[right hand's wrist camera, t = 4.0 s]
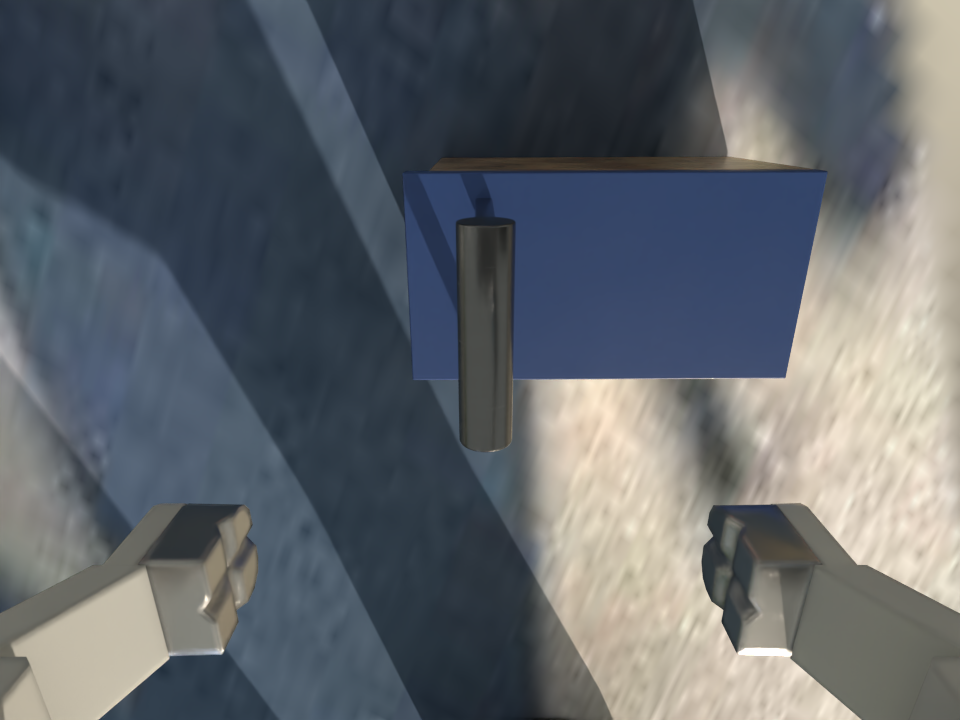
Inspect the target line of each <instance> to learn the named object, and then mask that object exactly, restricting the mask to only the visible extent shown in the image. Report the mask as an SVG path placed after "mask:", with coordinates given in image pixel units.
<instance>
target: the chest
mask: <svg viewBox="0 0 960 720" xmlns="http://www.w3.org/2000/svg"><path fill="white" fill-rule="evenodd" d="M777 169H809V168H802V167H796V166H789V165H782V164H775V163H769V162H762V161H755V160H748V159H741V158H734V157H528V158H441V159H440V160H439V161H438V162H437V163H436V164H435V165H434V166H433V167H432V168H431V169H430V170H429V171H518V170H777Z"/></svg>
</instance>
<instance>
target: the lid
mask: <svg viewBox="0 0 960 720" xmlns="http://www.w3.org/2000/svg"><path fill="white" fill-rule="evenodd" d="M402 175H403V195H404V215H405V235H406V255H407V275H408V295H409V315H410V335H411V355H412V375H413V380H459V434H460V442H461V443H462V445H463V446H465V447H466V448H468V449H470V450H473V451H478V452H494V451H498V450H501V449H504V448H505V447H507V446H508V445H509V444H510V443H511V440H512V402H513V379H751V378H785V377H786V372H787V367H788V362H789V357H790V353H791V348H792V343H793V338H794V333H795V328H796V323H797V319H798V314H799V309H800V304H801V299H802V294H803V289H804V284H805V280H806V275H807V270H808V265H809V260H810V255H811V250H812V246H813V241H814V236H815V231H816V226H817V221H818V216H819V212H820V207H821V202H822V197H823V192H824V187H825V182H826V178H827V171H823V170H816V169H777V170H518V171H405V172H404V173H403V174H402Z"/></svg>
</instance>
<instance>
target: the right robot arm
mask: <svg viewBox="0 0 960 720" xmlns="http://www.w3.org/2000/svg"><path fill="white" fill-rule="evenodd" d="M252 525H253V524H252V519H251V515H250V510H249V508H247V507H246V506H245V505H234V504H185V503H161V504H158V505H155V506H153V507H152V508H151V509H150V510H149V512H148V513H147V514H146V515H145V516H144V517H143V519H142V520H141V521H140V522H139V523H138V524H137V526H136V527H135V528H134V529H133V530H132V531H131V533H130V534H129V535H128V536H127V537H126V538H125V540H124V541H123V542H122V543H121V544H120V545H119V547H118V548H117V549H116V550H115V551H114V552H113V554H112V555H111V556H110V557H109V558H108V559H107V561H106V562H105V563H104V564H103V565H93V566H91V567H89V568H87V569H85V570H83V571H81V572H79V573H77V574H75V575H73V576H71V577H69V578H68V579H66V580H64V581H62V582H60V583H58V584H56V585H54V586H52V587H50V588H48V589H46V590H44V591H42V592H41V593H39V594H37V595H35V596H33V597H31V598H29V599H27V600H25V601H23V602H21V603H19V604H17V605H15V606H14V607H12V608H10V609H8V610H6V611H4V612H2V613H0V720H99V719H100V718H101V717H102V716H103V715H104V714H106V713H107V712H108V711H109V710H110V709H111V708H113V707H114V706H115V705H116V704H117V703H118V702H120V701H121V700H122V699H123V698H124V697H125V696H127V695H128V694H129V693H130V692H131V691H132V690H134V689H135V688H136V687H137V686H138V685H139V684H141V683H142V682H143V681H144V680H145V679H146V678H148V677H149V676H150V675H151V674H152V673H153V672H155V671H156V670H157V669H158V668H159V667H160V666H162V665H163V664H164V663H165V662H166V661H167V660H169V656H181V655H215V654H223V653H224V650H225V648H226V646H227V644H228V642H229V640H230V638H231V636H232V634H233V632H234V630H235V628H236V626H237V624H238V616H237V611H236V610H237V609H238V608H240V607H241V606H243V605H244V604H245V603H247V602H248V601H249V599H250V597H251V595H252V592H253V590H254V588H255V583H256V578H257V574H258V553H257V547H256V545H255V544H254V543H253V542H252V541H251V540H250V539H249V538H248V537H247V534H248V533H249V531H250V529H251V527H252ZM707 525H708V527H709V529H710V531H711V533H712V534H713V537H712V538H711V539H710V540H709V541H708V542H707V543H706V544H705V545H704V547H703V555H702V573H703V580H704V583H705V587H706V590H707V592H708V595H709V597H710V599H711V601H712V602H713V603H715V604H716V605H717V606H719V607H720V608H722V609H723V610H724V611H723V616H722V624H723V626H724V628H725V630H726V632H727V634H728V636H729V638H730V640H731V642H732V644H733V646H734V648H735V650H736V652H737V654H743V655H779V656H791V659H792V660H793V661H794V662H795V663H796V664H798V665H799V666H800V667H801V668H802V669H803V670H805V671H806V672H807V673H808V674H809V675H810V676H812V677H813V678H814V679H815V680H816V681H817V682H819V683H820V684H821V685H822V686H823V687H824V688H825V689H827V690H828V691H829V692H830V693H831V694H832V695H834V696H835V697H836V698H837V699H838V700H839V701H841V702H842V703H843V704H844V705H845V706H846V707H848V708H849V709H850V710H851V711H852V712H853V713H855V714H856V715H857V716H858V717H859V718H860V719H862V720H960V613H958V612H956V611H954V610H952V609H950V608H948V607H946V606H944V605H942V604H941V603H939V602H937V601H935V600H933V599H931V598H929V597H927V596H925V595H923V594H921V593H919V592H917V591H915V590H914V589H912V588H910V587H908V586H906V585H904V584H902V583H900V582H898V581H896V580H894V579H892V578H890V577H889V576H887V575H885V574H883V573H881V572H879V571H877V570H875V569H873V568H871V567H869V566H867V565H857V564H856V563H855V562H854V561H853V559H852V558H851V557H850V556H849V555H848V554H847V552H846V551H845V550H844V549H843V548H842V547H841V545H840V544H839V543H838V542H837V541H836V540H835V538H834V537H833V536H832V535H831V534H830V533H829V532H828V530H827V529H826V528H825V527H824V526H823V525H822V523H821V522H820V521H819V520H818V519H817V518H816V516H815V515H814V514H813V513H812V512H811V511H810V509H809V508H808V507H807V506H805V505H803V504H801V503H786V504H771V505H713V507H712V509H711V511H710V513H709V519H708V524H707Z"/></svg>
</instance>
